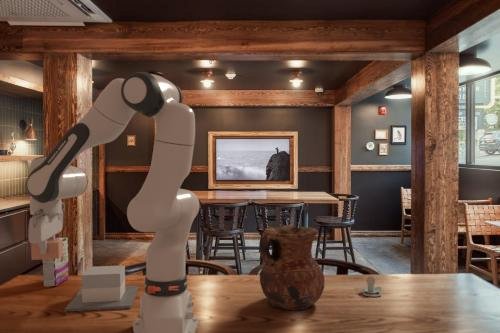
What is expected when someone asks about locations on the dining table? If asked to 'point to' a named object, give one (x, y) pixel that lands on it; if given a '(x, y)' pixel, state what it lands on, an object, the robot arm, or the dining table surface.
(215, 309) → the dining table surface
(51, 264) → the candy bar box
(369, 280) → the pacifier
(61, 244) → the terracotta brick
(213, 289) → the dining table surface
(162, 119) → the robot arm
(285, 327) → the dining table surface
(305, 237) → the jug
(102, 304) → the white stack on tray
